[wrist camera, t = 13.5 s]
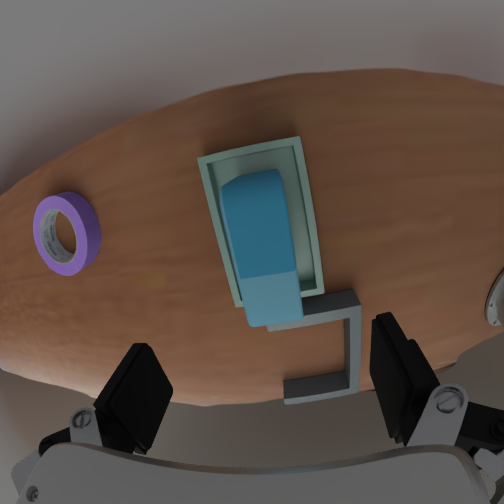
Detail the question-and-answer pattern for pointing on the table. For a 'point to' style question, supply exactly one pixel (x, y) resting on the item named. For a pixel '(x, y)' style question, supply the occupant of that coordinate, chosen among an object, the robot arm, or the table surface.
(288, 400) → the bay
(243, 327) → the table surface
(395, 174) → the table surface
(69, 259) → the masking tape
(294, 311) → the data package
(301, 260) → the tray
